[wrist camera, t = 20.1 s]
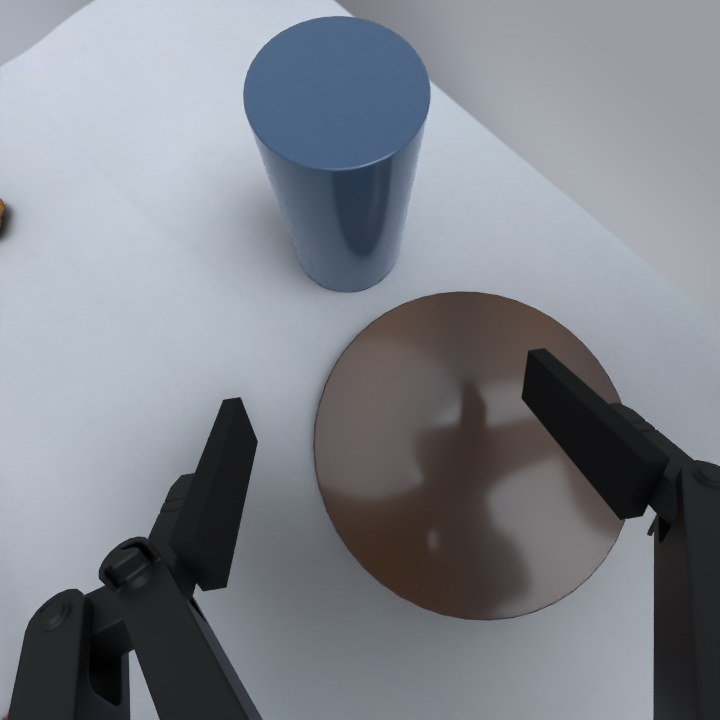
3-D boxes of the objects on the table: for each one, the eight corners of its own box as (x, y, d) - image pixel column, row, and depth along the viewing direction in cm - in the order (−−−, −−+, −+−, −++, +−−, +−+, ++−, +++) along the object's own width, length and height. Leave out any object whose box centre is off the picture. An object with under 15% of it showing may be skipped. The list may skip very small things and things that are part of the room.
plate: (567, 280, 23) (581, 270, 22) (656, 576, 20) (680, 587, 18) (299, 322, 23) (294, 315, 21) (340, 634, 19) (338, 650, 18)
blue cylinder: (389, 192, 24) (411, 4, 14) (407, 283, 23) (449, 155, 12) (290, 206, 24) (234, 27, 13) (303, 300, 23) (252, 183, 12)
